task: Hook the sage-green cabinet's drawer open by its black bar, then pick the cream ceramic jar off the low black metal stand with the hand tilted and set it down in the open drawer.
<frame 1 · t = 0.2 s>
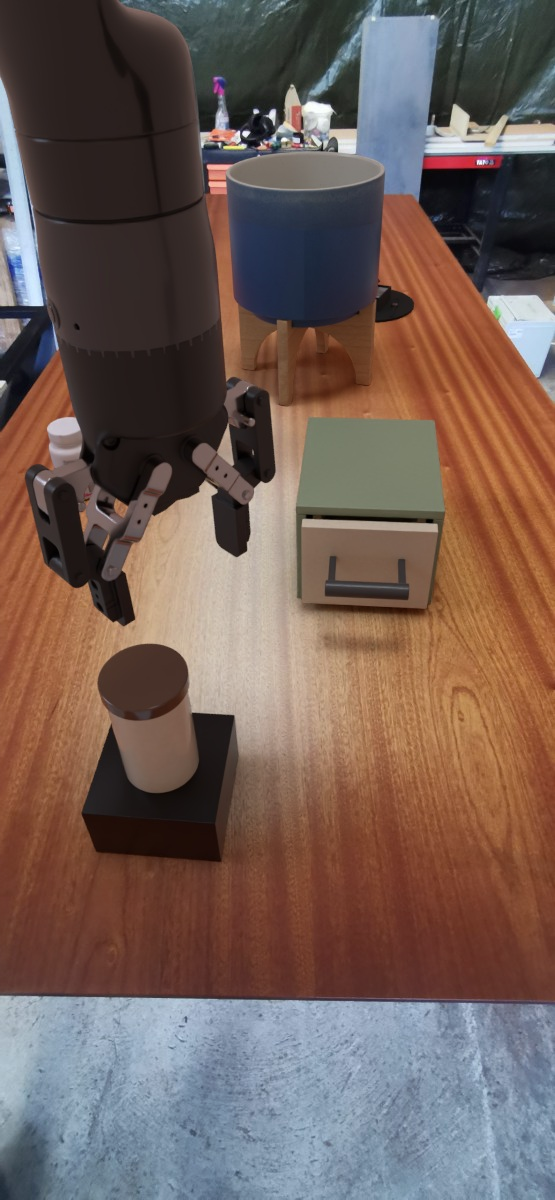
hand: (179, 581, 44), 19 cm above the table, tool pointing down, fingers open, 8 cm apart
planter: (305, 376, 107), on the table
drawer: (366, 535, 69), point 5 cm above the table, slide at 0.5 cm
supplement can: (177, 462, 90), on the table
stand: (170, 800, 55), on the table
jar: (162, 761, 52), point 5 cm above the table, touching stand
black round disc: (369, 306, 126), on the table
cabinet: (364, 549, 76), on the table
pill bottle: (81, 491, 86), on the table
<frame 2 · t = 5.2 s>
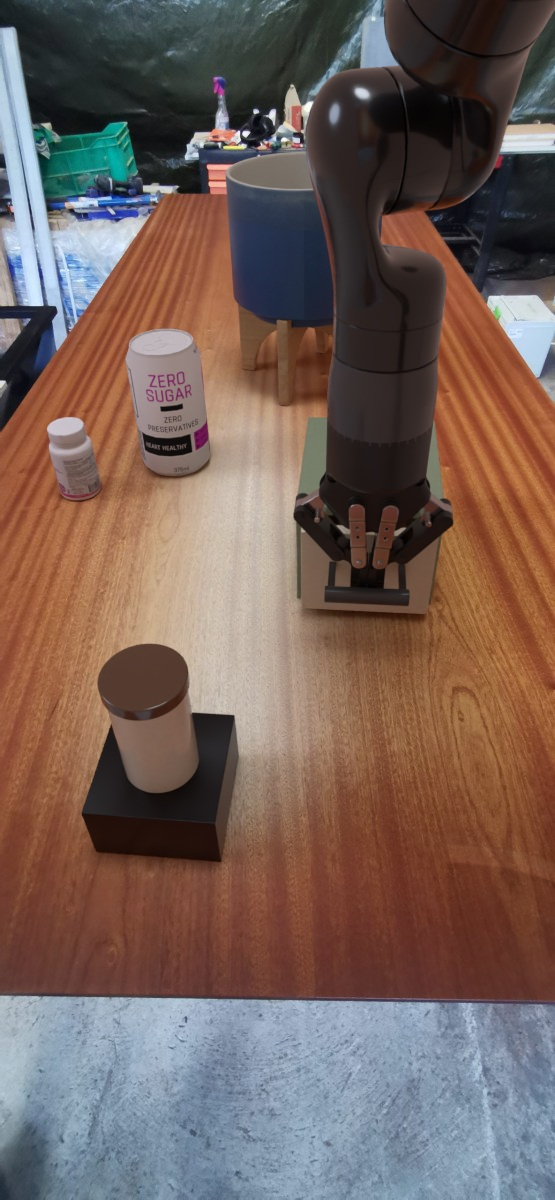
hand: (366, 593, 64), 5 cm above the table, tool pointing down, fingers closed
drawer: (366, 540, 69), point 5 cm above the table, slide at 1.3 cm, touching gripper
everything else where it was.
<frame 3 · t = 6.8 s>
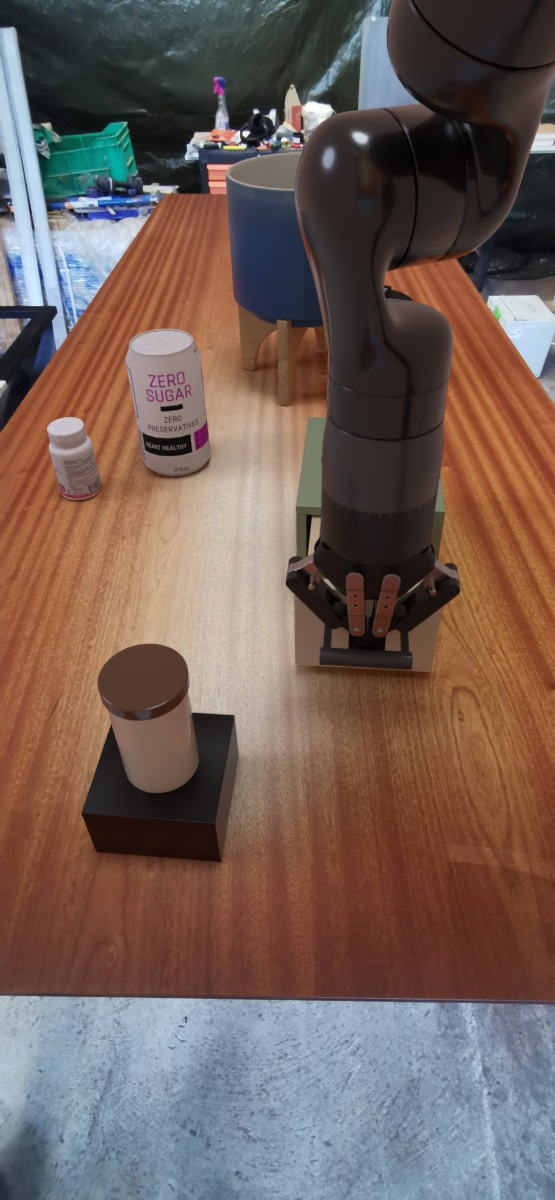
hand: (365, 659, 59), 4 cm above the table, tool pointing down, fingers closed
drawer: (366, 591, 64), point 5 cm above the table, slide at 8.4 cm, touching gripper
everything else where it was.
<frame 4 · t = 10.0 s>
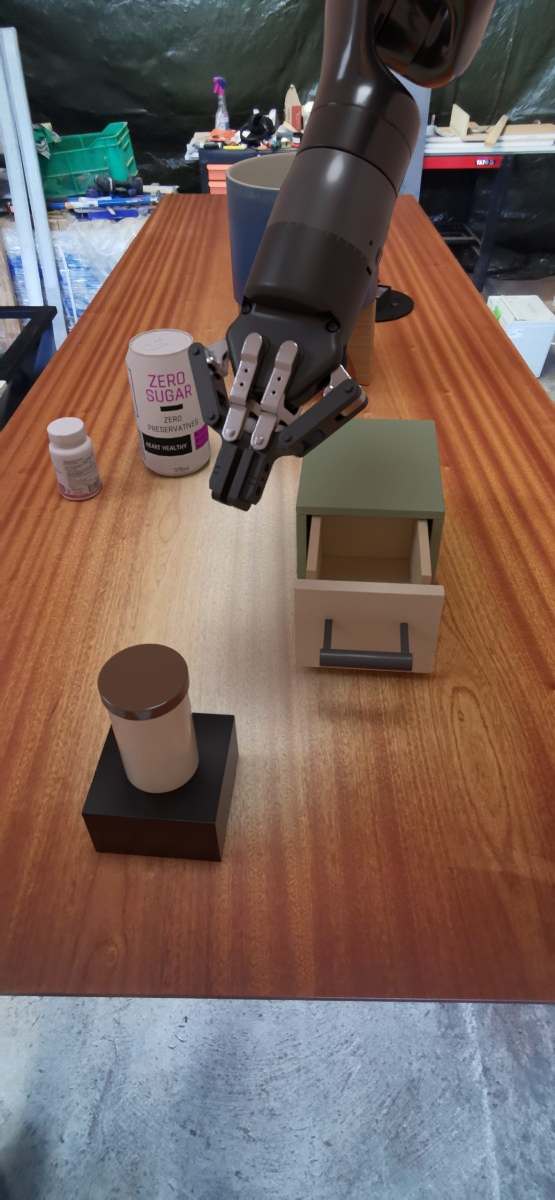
hand: (229, 504, 48), 20 cm above the table, tool tilted 45°, fingers closed
drawer: (366, 592, 63), point 5 cm above the table, slide at 8.5 cm
everything else where it was.
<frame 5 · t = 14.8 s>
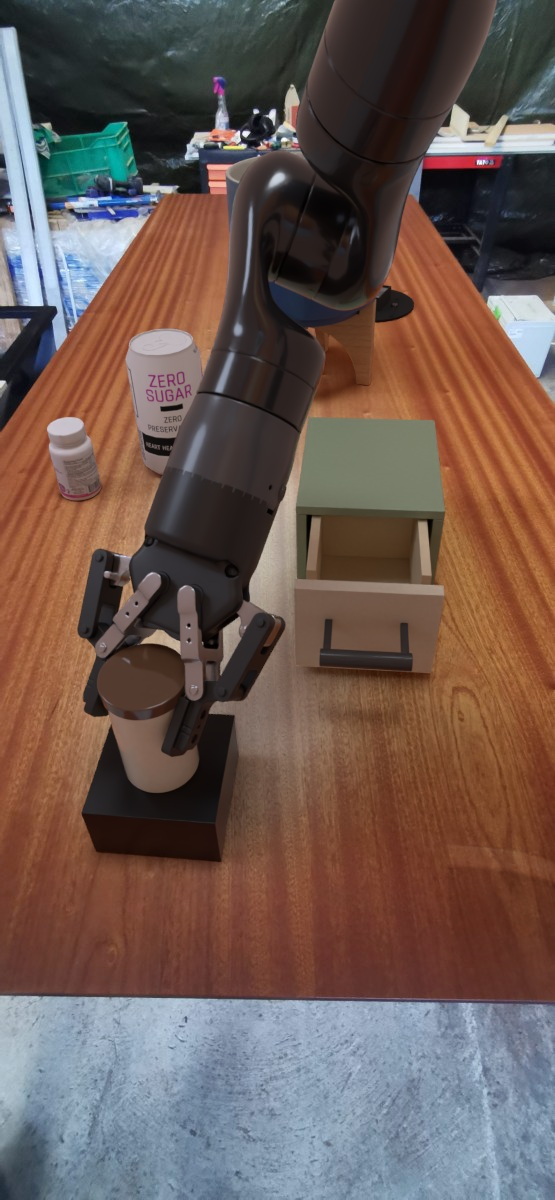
hand: (134, 732, 47), 10 cm above the table, tool tilted 45°, fingers closed on jar, 5 cm apart
jar: (162, 761, 52), point 5 cm above the table, touching gripper, stand
everything else where it was.
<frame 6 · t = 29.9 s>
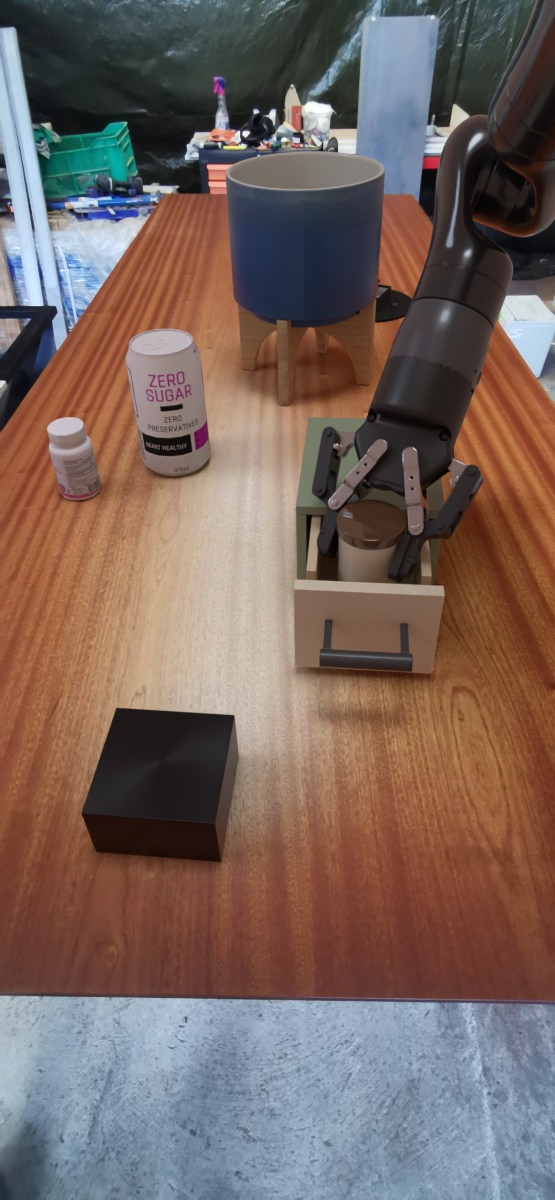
hand: (359, 567, 60), 9 cm above the table, tool tilted 45°, fingers closed on jar, 5 cm apart
jar: (366, 601, 65), point 4 cm above the table, touching gripper
everything else where it was.
when the fingers open (10 cm above the table, at t = 34.3 s): jar drops 3 cm, resting on drawer.
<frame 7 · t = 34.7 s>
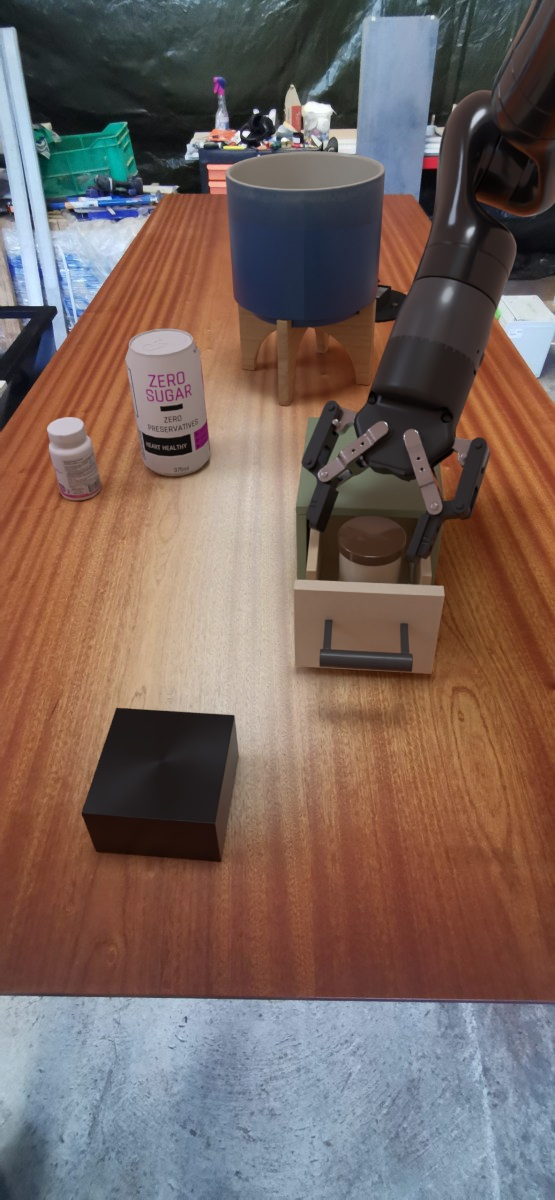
hand: (362, 545, 59), 11 cm above the table, tool tilted 45°, fingers open, 8 cm apart
drawer: (366, 592, 63), point 5 cm above the table, slide at 8.6 cm, touching jar
jar: (365, 615, 66), point 2 cm above the table, touching drawer
everything else where it was.
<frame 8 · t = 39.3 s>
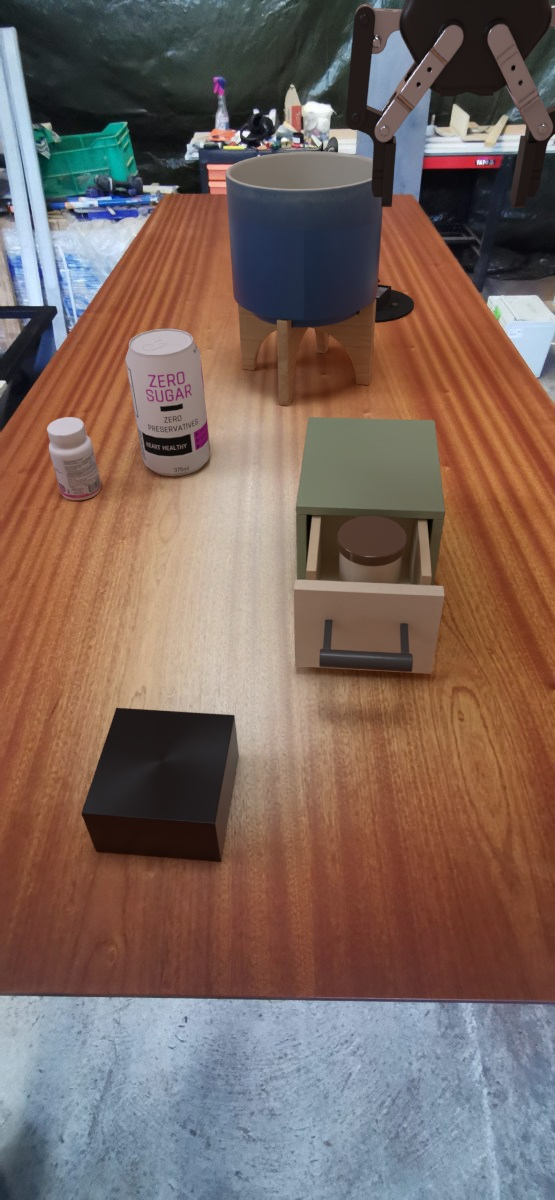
hand: (451, 204, 49), 34 cm above the table, tool pointing down, fingers open, 8 cm apart
nothing on the table moved.
at the end: drawer slide at 8.6 cm; jar inside the target area in the drawer (0.2 cm from its centre), point 2.1 cm above the cabinet's base; jar tilted 0° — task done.
